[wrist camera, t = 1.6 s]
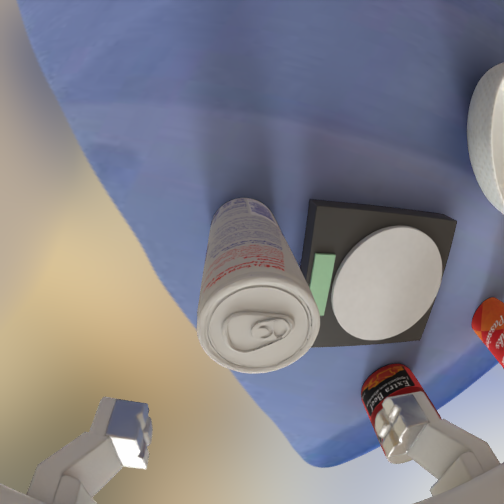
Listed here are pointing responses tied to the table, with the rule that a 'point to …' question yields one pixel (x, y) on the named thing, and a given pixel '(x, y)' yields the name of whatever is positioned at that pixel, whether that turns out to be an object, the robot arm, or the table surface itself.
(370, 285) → the scale
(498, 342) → the paper cup
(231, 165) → the table surface
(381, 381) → the canned food
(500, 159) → the cereal bowl
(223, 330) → the beverage can
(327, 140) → the table surface
